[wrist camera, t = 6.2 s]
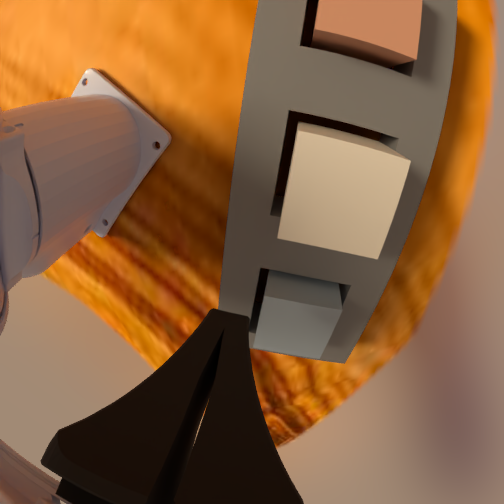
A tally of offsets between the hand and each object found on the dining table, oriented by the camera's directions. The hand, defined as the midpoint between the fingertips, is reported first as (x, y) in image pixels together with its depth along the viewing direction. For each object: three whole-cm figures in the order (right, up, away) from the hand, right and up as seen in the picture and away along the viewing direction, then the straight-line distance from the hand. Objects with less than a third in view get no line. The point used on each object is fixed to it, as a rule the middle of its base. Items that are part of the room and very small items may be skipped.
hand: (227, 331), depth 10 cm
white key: (+5, +7, +3) cm, 9 cm away
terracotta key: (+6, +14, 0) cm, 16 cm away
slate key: (+4, +1, +8) cm, 9 cm away
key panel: (+5, +8, +5) cm, 10 cm away
